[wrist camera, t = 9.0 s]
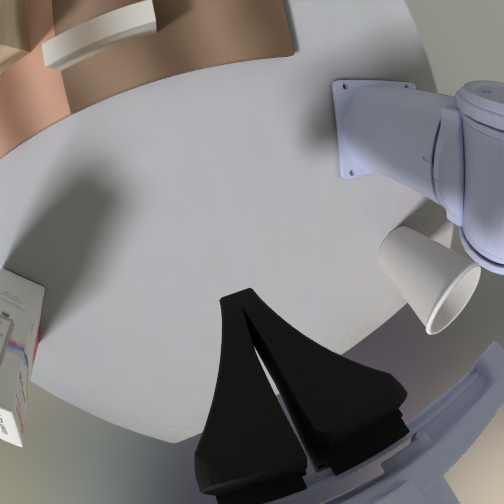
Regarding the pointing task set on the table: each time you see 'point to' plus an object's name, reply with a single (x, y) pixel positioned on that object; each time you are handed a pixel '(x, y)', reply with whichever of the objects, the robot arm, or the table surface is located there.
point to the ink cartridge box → (17, 349)
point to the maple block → (13, 32)
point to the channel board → (125, 52)
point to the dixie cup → (428, 276)
